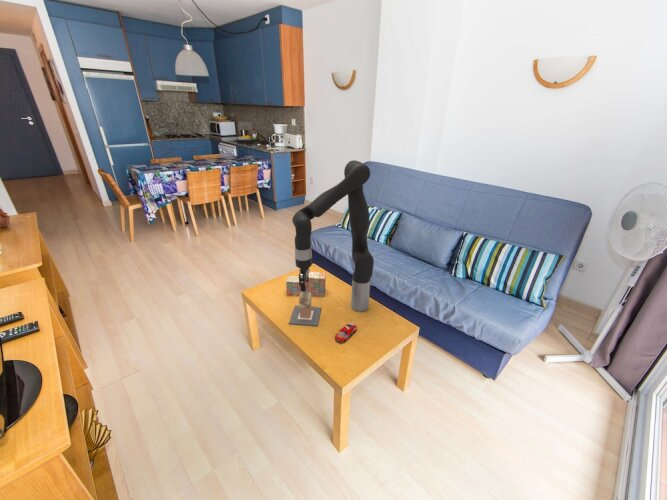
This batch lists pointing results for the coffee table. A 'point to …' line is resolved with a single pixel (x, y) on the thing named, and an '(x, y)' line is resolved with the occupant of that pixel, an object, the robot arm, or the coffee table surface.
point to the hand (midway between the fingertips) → (305, 285)
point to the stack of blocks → (307, 285)
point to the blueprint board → (305, 321)
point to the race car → (345, 332)
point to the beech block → (305, 300)
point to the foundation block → (305, 312)
